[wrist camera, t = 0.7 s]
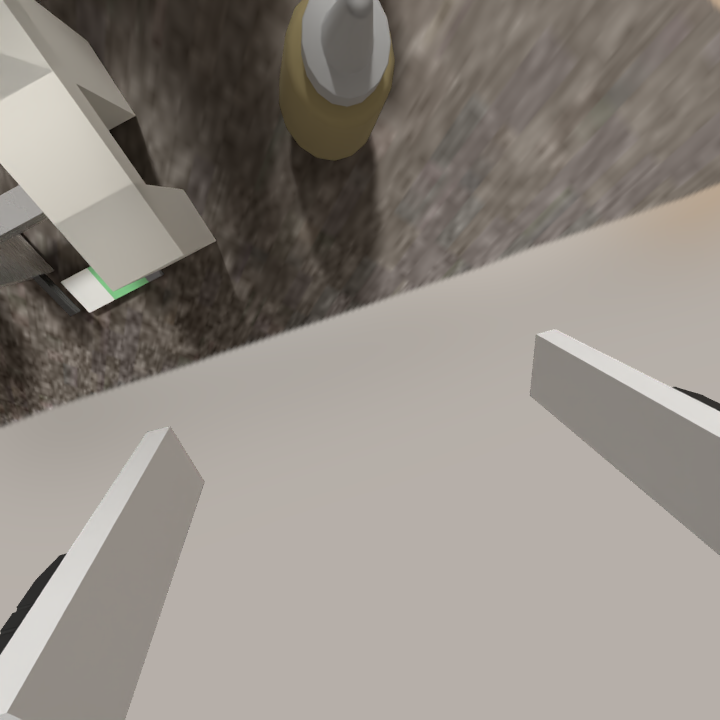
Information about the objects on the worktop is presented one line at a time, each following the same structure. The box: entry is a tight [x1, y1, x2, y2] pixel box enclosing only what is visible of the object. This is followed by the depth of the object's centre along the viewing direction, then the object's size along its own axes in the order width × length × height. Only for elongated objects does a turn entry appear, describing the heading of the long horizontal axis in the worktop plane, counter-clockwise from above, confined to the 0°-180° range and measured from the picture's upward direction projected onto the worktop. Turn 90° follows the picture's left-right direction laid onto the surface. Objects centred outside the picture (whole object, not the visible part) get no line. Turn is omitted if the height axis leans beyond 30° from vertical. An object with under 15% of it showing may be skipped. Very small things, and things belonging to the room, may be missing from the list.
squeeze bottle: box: [279, 0, 395, 161], centre depth 21 cm, size 8×8×18 cm
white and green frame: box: [0, 0, 216, 313], centre depth 24 cm, size 16×15×10 cm
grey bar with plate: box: [0, 185, 80, 316], centre depth 25 cm, size 12×10×7 cm
